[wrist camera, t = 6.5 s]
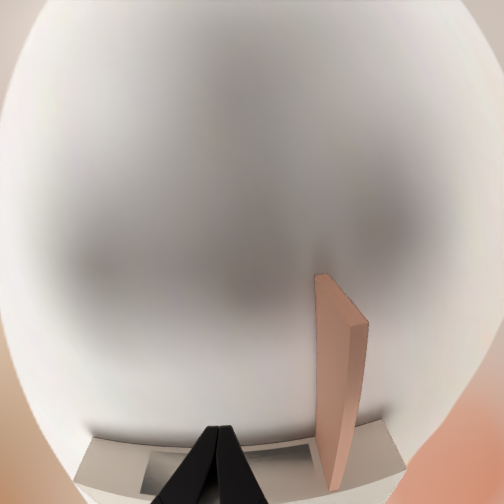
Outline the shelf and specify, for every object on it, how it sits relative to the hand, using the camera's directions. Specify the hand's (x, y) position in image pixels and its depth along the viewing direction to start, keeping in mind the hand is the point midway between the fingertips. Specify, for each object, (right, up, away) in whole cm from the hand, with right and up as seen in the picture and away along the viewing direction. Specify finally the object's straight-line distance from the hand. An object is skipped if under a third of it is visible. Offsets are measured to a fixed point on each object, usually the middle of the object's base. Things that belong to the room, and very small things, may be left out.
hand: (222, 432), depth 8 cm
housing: (0, -13, +9) cm, 16 cm away
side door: (+5, -1, +6) cm, 7 cm away
